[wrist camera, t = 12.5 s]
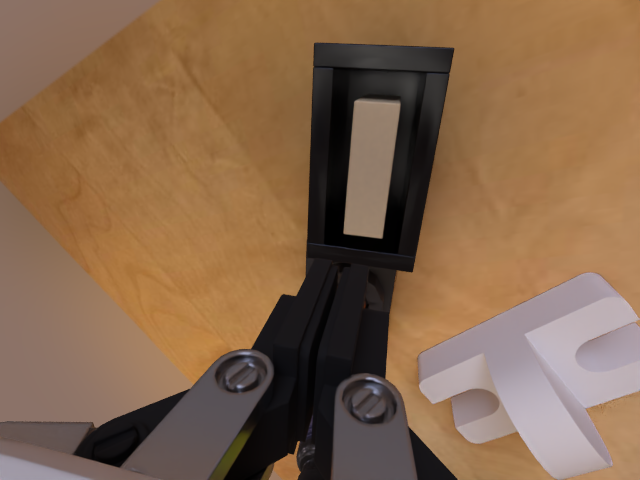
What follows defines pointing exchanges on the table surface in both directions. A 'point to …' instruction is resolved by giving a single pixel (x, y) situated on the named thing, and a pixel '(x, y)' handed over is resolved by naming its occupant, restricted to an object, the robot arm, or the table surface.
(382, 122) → the white flat square block
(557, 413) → the u-slot stand
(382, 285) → the button box
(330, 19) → the table surface
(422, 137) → the toaster
